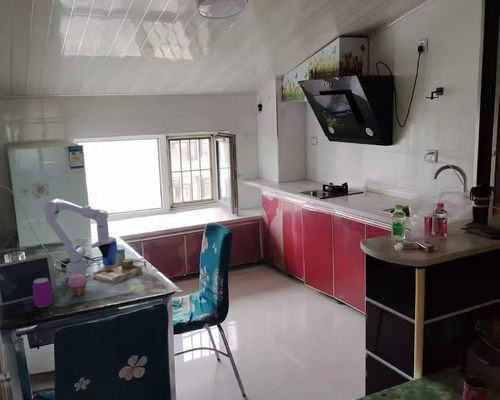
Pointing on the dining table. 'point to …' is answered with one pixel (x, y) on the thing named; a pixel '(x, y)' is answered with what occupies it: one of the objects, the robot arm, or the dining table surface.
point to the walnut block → (127, 264)
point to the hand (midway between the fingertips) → (105, 257)
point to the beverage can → (42, 292)
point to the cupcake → (78, 284)
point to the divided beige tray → (116, 273)
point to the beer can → (111, 255)
